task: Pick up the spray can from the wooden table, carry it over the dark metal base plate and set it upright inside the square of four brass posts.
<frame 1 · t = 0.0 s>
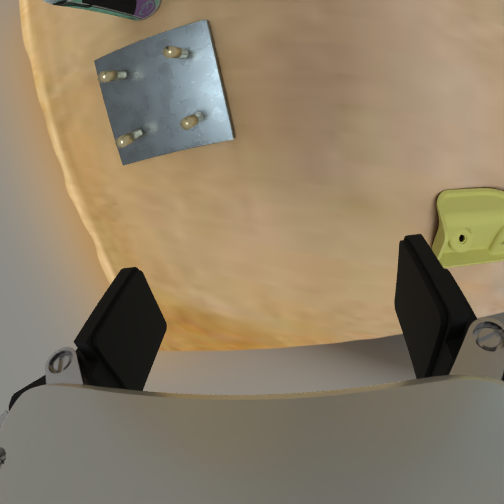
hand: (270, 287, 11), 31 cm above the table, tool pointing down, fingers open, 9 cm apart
plastic component: (478, 223, 41), on the table
post plate: (162, 93, 36), on the table
spray can: (142, 2, 29), on the table
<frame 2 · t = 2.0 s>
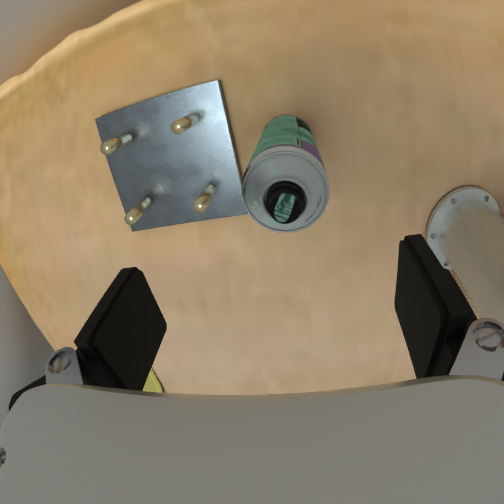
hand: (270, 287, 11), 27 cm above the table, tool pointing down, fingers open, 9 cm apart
plastic component: (136, 378, 64), on the table
post plate: (171, 159, 36), on the table
spray can: (287, 137, 34), on the table
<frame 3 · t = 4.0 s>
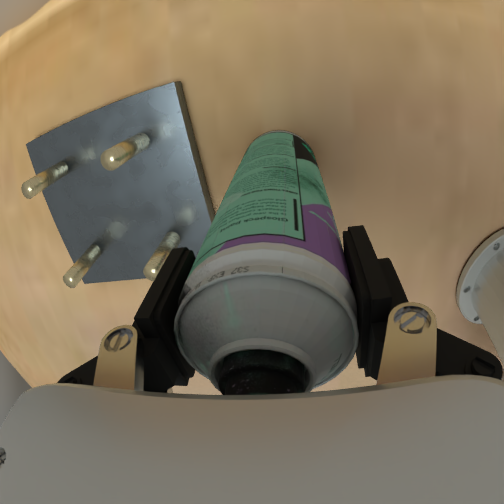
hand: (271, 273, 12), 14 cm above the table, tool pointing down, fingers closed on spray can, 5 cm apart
post plate: (121, 195, 26), on the table
spray can: (279, 163, 24), on the table, touching gripper
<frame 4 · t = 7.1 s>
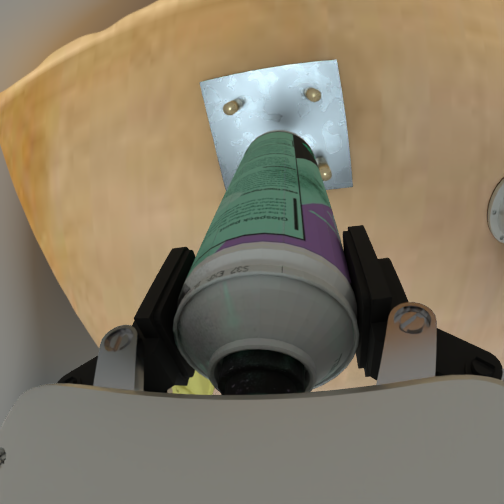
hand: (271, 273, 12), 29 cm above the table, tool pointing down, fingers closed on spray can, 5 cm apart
plastic component: (186, 368, 64), on the table
post plate: (280, 130, 36), on the table
spray can: (279, 163, 23), point 15 cm above the table, touching gripper
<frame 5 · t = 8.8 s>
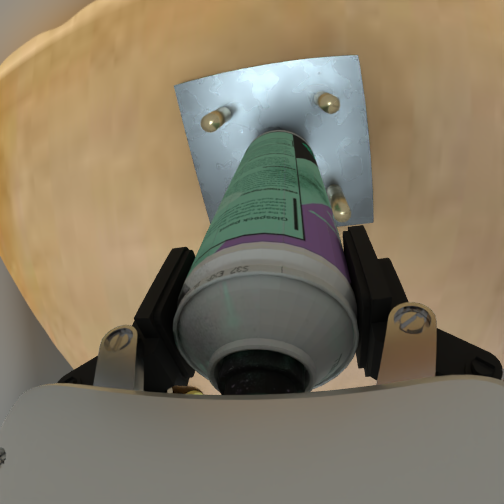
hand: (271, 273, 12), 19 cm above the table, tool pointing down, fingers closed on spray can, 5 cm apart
post plate: (281, 148, 28), on the table
spray can: (279, 163, 23), point 5 cm above the table, touching gripper
when the fingers open (18 cm above the table, at t = 10.0 s): spray can drops 2 cm, resting on post plate.
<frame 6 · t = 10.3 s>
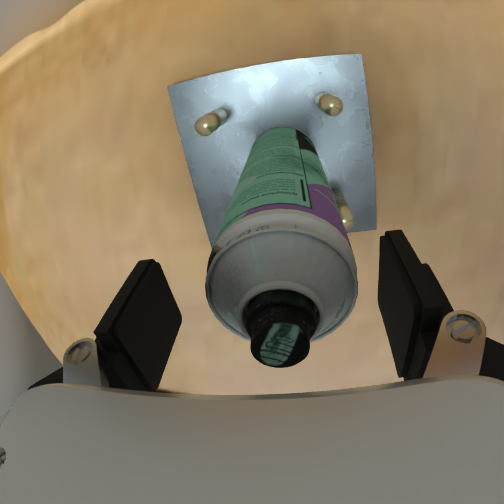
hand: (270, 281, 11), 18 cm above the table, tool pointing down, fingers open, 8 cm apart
post plate: (280, 152, 27), on the table
spray can: (283, 156, 26), point 1 cm above the table, touching post plate
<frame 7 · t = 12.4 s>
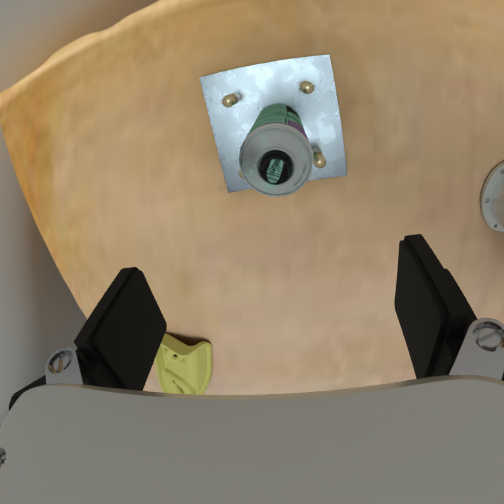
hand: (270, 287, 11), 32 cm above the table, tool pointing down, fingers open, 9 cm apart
plastic component: (183, 360, 66), on the table
post plate: (276, 122, 38), on the table
spray can: (278, 124, 37), point 1 cm above the table, touching post plate
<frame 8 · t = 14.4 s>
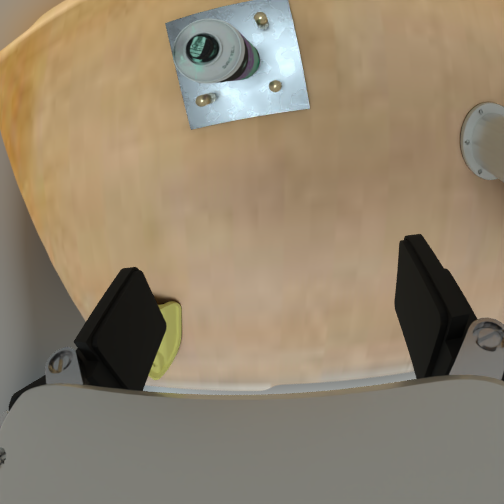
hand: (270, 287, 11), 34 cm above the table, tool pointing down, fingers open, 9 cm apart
plastic component: (153, 324, 64), on the table
post plate: (237, 60, 35), on the table
spray can: (238, 60, 34), point 1 cm above the table, touching post plate
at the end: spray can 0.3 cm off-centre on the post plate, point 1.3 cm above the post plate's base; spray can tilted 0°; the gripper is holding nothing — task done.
